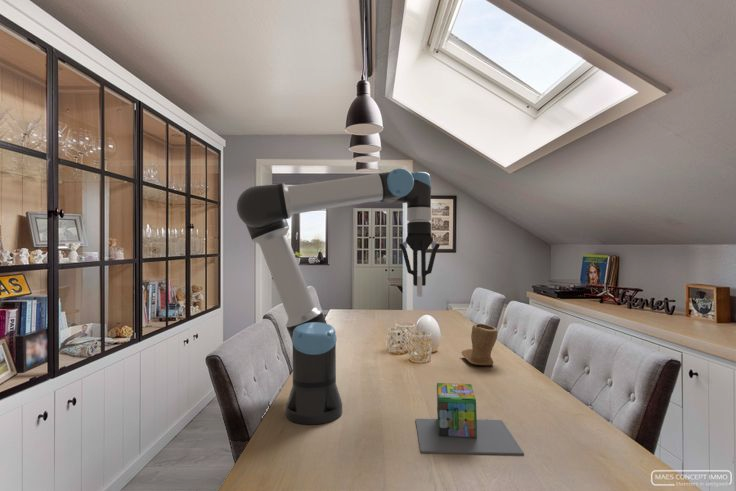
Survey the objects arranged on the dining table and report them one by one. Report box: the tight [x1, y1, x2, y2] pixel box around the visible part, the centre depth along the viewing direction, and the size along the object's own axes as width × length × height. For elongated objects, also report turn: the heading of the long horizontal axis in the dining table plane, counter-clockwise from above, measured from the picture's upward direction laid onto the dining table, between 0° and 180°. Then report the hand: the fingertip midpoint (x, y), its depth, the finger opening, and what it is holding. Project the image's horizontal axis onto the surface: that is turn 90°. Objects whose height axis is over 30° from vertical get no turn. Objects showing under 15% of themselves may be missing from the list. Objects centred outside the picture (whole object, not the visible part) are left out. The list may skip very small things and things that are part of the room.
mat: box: [415, 418, 525, 456], centre depth 96 cm, size 22×17×1 cm
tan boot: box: [460, 322, 498, 366], centre depth 160 cm, size 15×12×15 cm
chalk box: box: [436, 382, 478, 438], centre depth 99 cm, size 9×9×15 cm
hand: (419, 296), depth 129 cm, fingers closed
